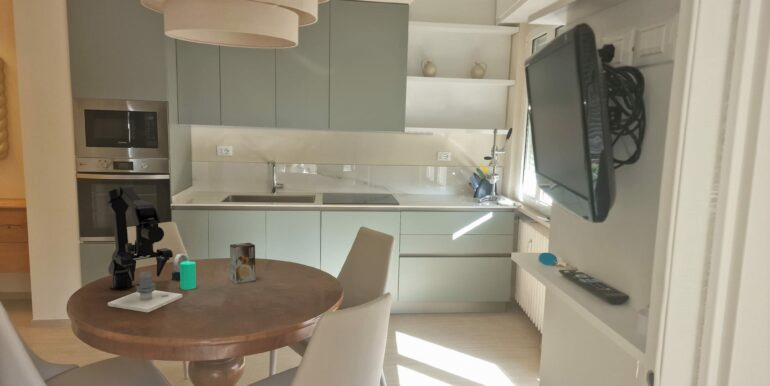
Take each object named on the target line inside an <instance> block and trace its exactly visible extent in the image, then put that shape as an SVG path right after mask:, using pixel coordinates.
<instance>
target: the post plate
mask: <svg viewBox="0 0 770 386" xmlns="http://www.w3.org/2000/svg"><path fill="white" fill-rule="evenodd" d="M181 298H183V294H182V293H177V292H170V291H162V290H156V289H155V291H153V292H149V293H138V292H137V291H136V292H132V293H129V294H128V295H125V296H121V297H120V298H117V299H114V300H112V301H108V302H107V306H108V307H113V308H117V309H125V310H131V311H136V312H143V313H150V312H152V311H154V310H157V309H158V308H159V309H160V308H161V307H163V306H165V305H169V304H171V303H172V302H174V301H177V300H179V299H181Z"/></svg>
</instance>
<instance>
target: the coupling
mask: <svg viewBox="0 0 770 386" xmlns="http://www.w3.org/2000/svg"><path fill="white" fill-rule="evenodd" d="M152 276H153V275H152V270H151V271H149V270H148V271H139V283H137V284H136V285H135V287H136V292H138V293H149V292H153V291H155V290H156V283H155V282H153V279H152V278H153V277H152Z"/></svg>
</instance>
